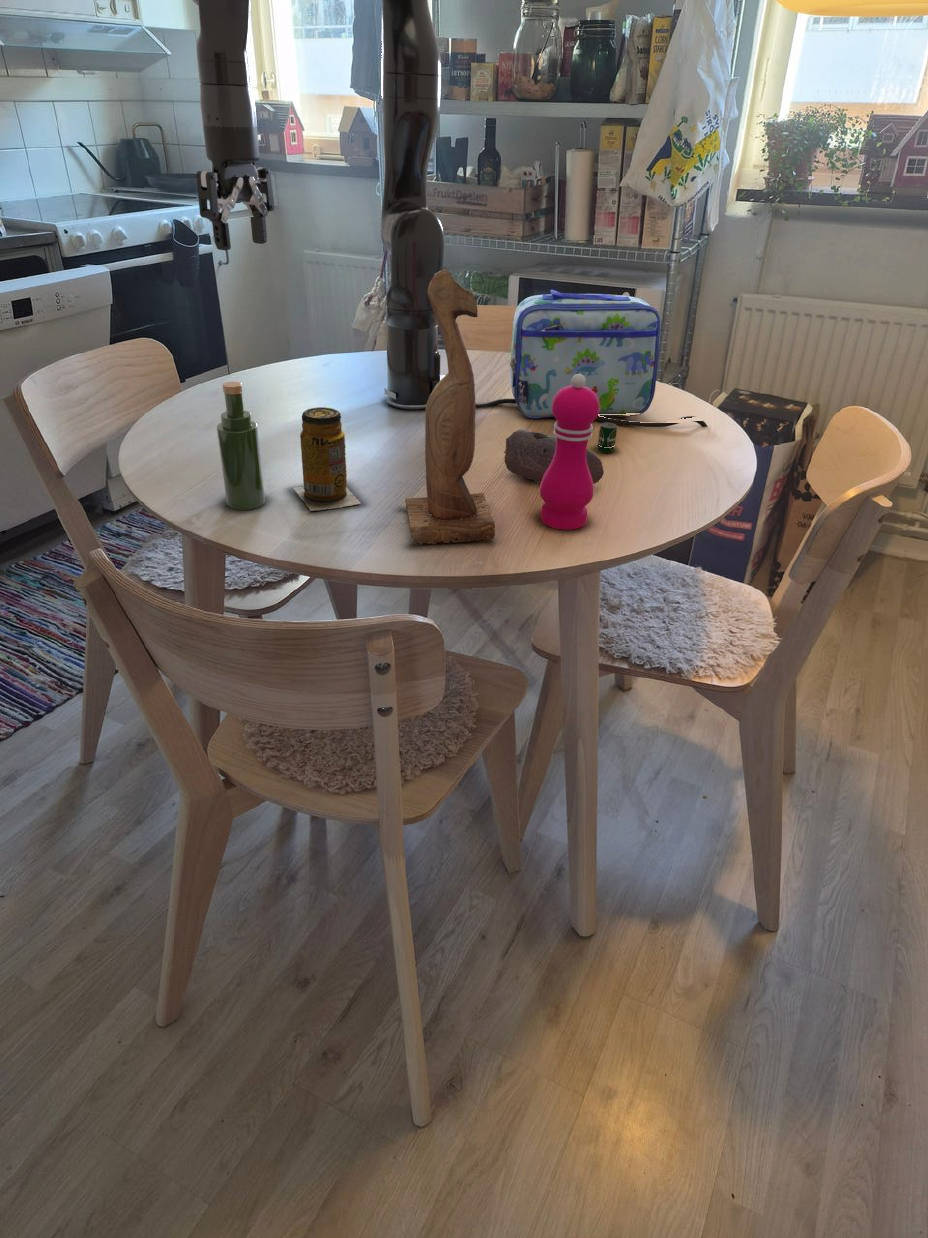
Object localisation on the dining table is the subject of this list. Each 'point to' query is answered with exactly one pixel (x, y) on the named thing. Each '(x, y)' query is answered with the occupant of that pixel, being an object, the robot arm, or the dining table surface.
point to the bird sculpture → (450, 433)
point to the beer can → (607, 437)
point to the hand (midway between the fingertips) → (242, 246)
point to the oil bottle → (240, 452)
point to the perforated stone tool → (539, 455)
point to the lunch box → (584, 351)
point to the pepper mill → (570, 458)
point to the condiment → (324, 461)
